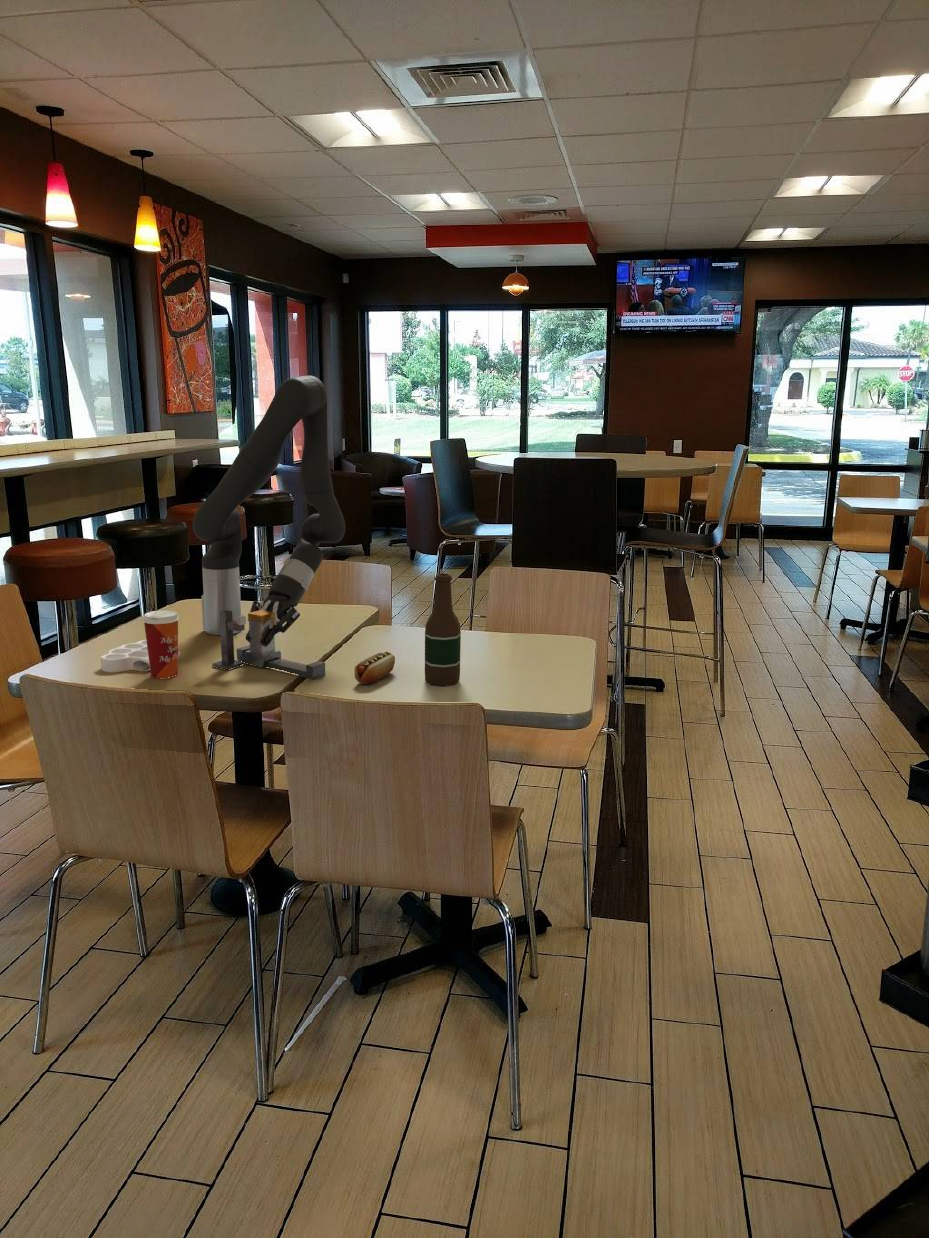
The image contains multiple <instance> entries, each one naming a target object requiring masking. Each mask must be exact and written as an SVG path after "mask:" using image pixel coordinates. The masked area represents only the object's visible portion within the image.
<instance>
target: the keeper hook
mask: <svg viewBox="0 0 929 1238" xmlns="http://www.w3.org/2000/svg"><path fill="white" fill-rule="evenodd" d="M219 614H220V635H219V636H220V650H221V652H220V653H221V660H220V661H216V662H213V663H212V664H211V665H212V666H215V667H218V668H217V669H219V668H222V669H221V670H223V669H225V670H224V671H227V670H228V671H230V670H229V669H231V668H234V667H237V666H240V665H242V664H244V665H245V663H244V662H241V661H237V659H235V643H234V641H235V640H234V634H233V630H235V631H240V632H243V631H245V625H246V624H247V619H246V618H247V617H246V615H242V614H241V616H238V617H237V621H233V617H232V611H230V610H223V611H219ZM212 666H211V667H212ZM215 667H214V668H215ZM231 670H232V669H231Z"/></svg>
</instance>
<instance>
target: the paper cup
mask: <svg viewBox="0 0 929 1238" xmlns="http://www.w3.org/2000/svg"><path fill="white" fill-rule="evenodd" d="M179 620H180V617H179V616H178V612H177V611H175V610H174V611H173V610H153V611H147V612H146V613H144V616H143V619H142V623H144V625H143V626H144V632H145V638H146V639H145V640H147V648H148V656H149V663H150V667H149V668H150V670H149V671H150V675H151V678H153V679H156V678H159V679H158V680H161V679H160V678H167V679H169V678H168V677H172V676H175V675H177V674H179V673H178V672H179V657H178V650H179ZM177 676H178V675H177ZM175 677H176V676H175ZM172 678H173V677H172Z"/></svg>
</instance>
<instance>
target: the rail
mask: <svg viewBox="0 0 929 1238" xmlns="http://www.w3.org/2000/svg"><path fill="white" fill-rule="evenodd" d="M248 650H250V644H248V645H245V646H241V647H238V648H236V660H238V661H242V662H245V658H244V653H245V651H248ZM265 667H269V668H275V669H279V670H284V671H287V672H290V673H295V674H298V675H299V676H298V677H301V678H305V679H309V680H313V681H314V680H316V679H319V678H322V677H324V676H326V662H324V661H319V660H317V661H314V662H312V663H309V664H305V663H301V662H296V661H292V660H288V659H285V658H281V659H280V658H274V659H271V660H268V661H265Z"/></svg>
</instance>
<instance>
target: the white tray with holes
mask: <svg viewBox="0 0 929 1238" xmlns="http://www.w3.org/2000/svg"><path fill="white" fill-rule="evenodd" d="M180 656H181V651H180V650H179V649H178V658H179V657H180ZM100 665H101V671H103V672H106V673H118V672H120V673H121V672H124V671H130V670H131V671H133V670H134V671H139V672H148V671H151V670H150V663H149V656H148V648H147V640H146V639H142V640H139V641H137V642H132V643H125V644H122V645H120V646H118V647H116V648H111V649H110V650H108V651H107V653H105V654H104V655H100ZM146 668H147V669H146Z"/></svg>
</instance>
